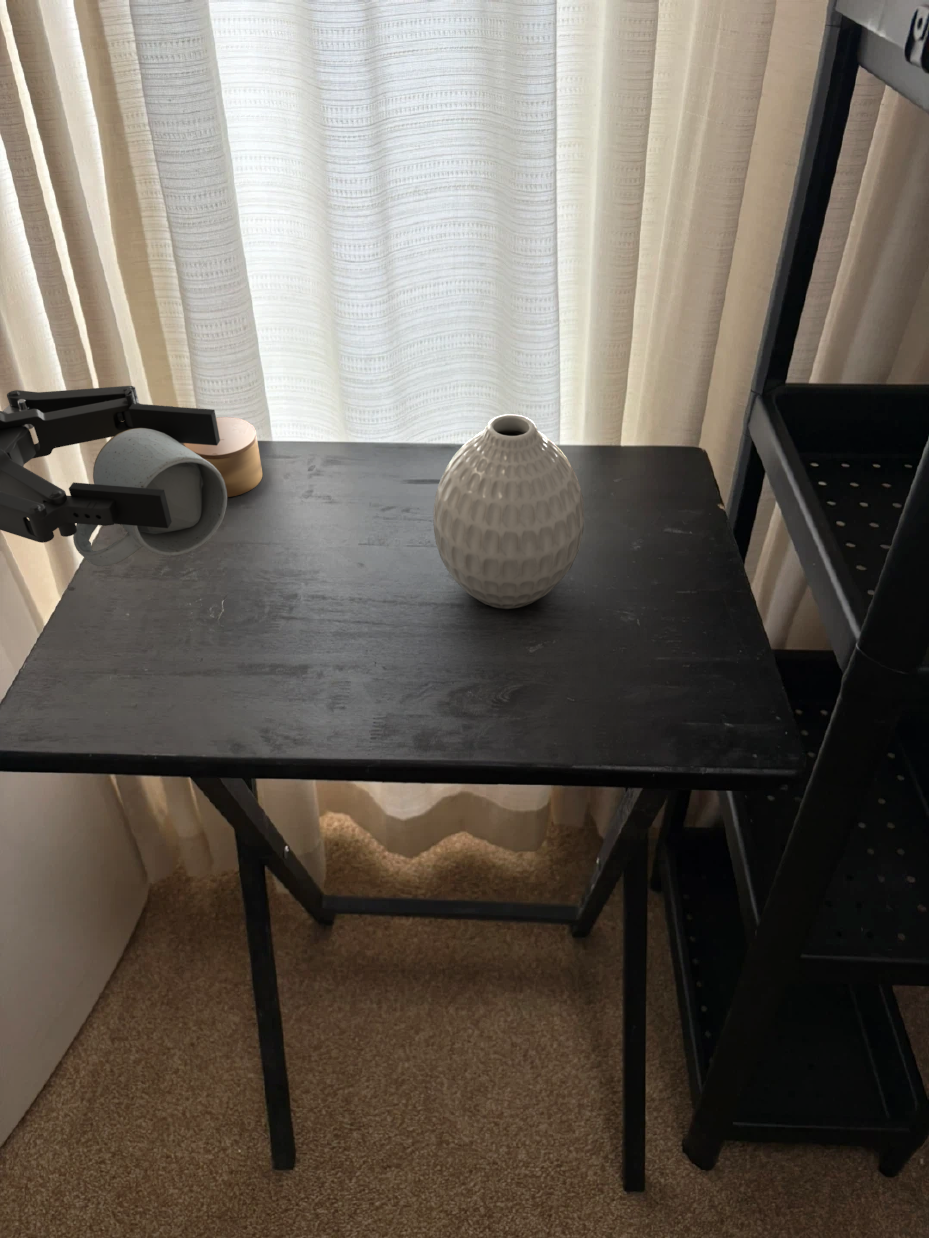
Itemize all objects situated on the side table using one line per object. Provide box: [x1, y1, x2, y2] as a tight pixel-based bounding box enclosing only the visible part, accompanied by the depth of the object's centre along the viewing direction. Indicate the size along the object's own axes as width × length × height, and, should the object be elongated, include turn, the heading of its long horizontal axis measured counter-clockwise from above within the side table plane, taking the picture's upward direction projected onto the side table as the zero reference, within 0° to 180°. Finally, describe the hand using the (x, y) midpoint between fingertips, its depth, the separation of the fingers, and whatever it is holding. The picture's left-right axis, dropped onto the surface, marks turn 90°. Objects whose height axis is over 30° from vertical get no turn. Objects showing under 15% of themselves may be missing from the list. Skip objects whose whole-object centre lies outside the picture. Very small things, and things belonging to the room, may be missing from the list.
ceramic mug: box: [72, 428, 228, 567], centre depth 76 cm, size 11×8×8 cm
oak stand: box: [182, 416, 263, 498], centre depth 105 cm, size 7×7×5 cm
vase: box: [432, 413, 585, 610], centre depth 87 cm, size 13×13×17 cm
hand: (192, 466), depth 75 cm, fingers closed on ceramic mug, 10 cm apart
